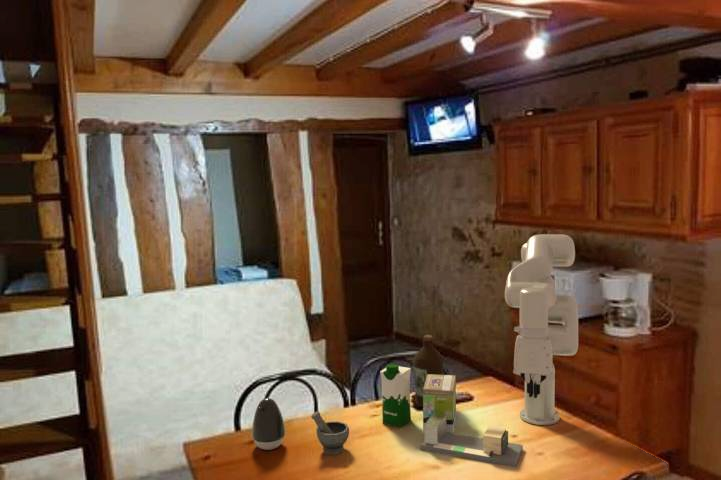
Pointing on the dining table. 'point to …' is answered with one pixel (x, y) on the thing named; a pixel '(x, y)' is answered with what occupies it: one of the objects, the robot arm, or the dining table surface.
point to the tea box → (440, 399)
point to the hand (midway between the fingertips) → (533, 395)
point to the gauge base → (474, 449)
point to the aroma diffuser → (268, 425)
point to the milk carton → (395, 395)
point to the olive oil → (426, 366)
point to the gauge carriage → (495, 440)
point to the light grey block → (435, 429)
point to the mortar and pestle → (331, 434)
